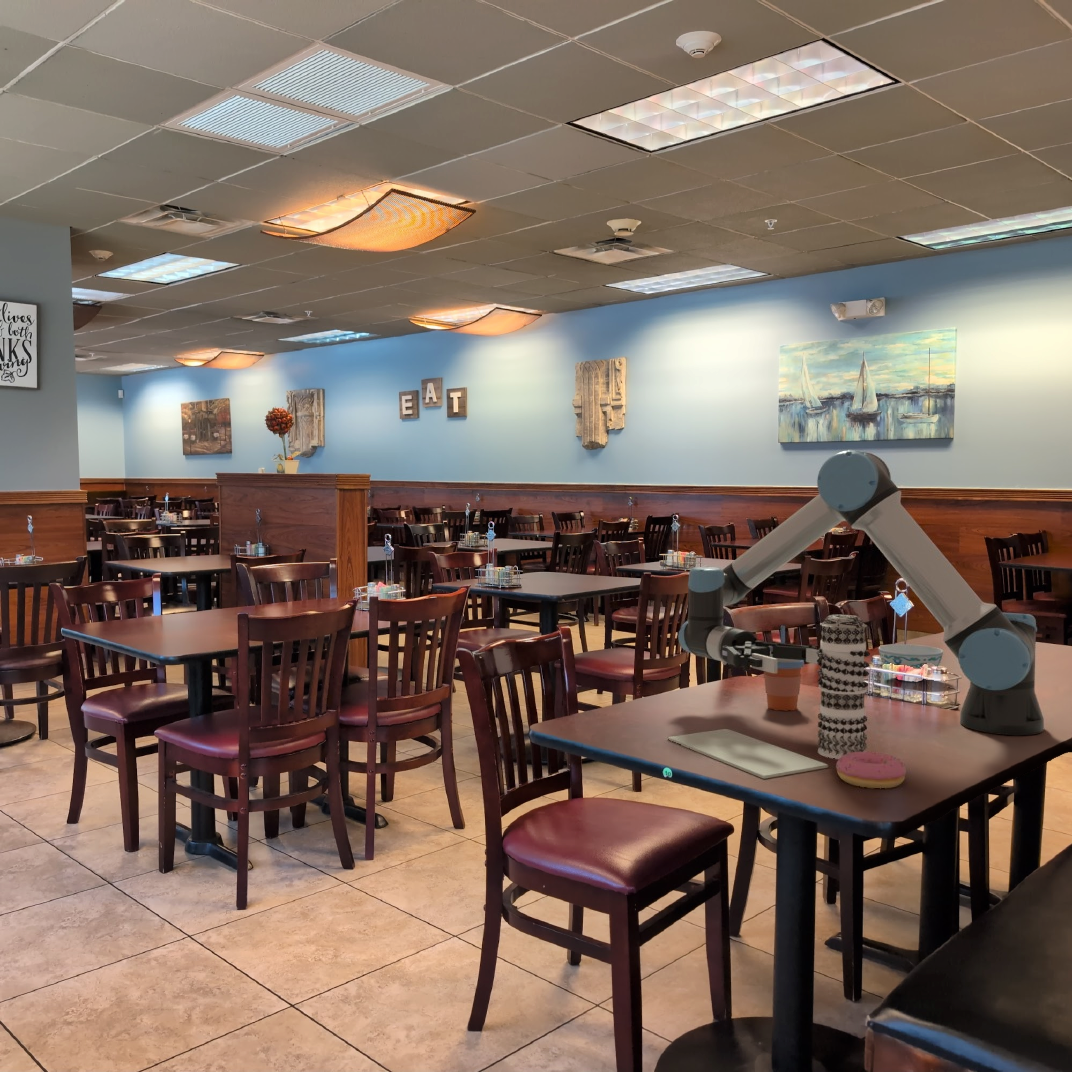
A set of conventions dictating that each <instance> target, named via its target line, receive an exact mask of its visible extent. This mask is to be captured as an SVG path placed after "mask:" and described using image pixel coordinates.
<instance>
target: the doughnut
mask: <svg viewBox="0 0 1072 1072" xmlns="http://www.w3.org/2000/svg"><path fill="white" fill-rule="evenodd" d="M835 762H836V763H835V765H836V766H835V768H836V772H837V774H838V775H837V776H839V777H840V779H841V780H843V782H845V783H848V784H849V785H852V786H854V787H855V786H856V787H859V786H860V788H864V787H867V788H866V789H874V788H880V789H881V788H885V789H892V788H896V787H898V786H900V785H901V784H902V783H903V782H904V781H905V778H906V774H907V771H906V768H905V767H906V765H905V764H904V763H903V762H902V761H901V759H900V758H897V757H894V756H893V755H889V754H886V753H881V752H876V751H874V750H873V751H865V752H857V751H856V752H852V753H848V754H845V755H843V756H842V757H841V758H840V759H837V761H835Z"/></svg>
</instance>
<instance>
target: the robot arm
mask: <svg viewBox="0 0 1072 1072" xmlns="http://www.w3.org/2000/svg"><path fill="white" fill-rule="evenodd" d="M816 481H817V482H816V483H817V484H816V486H817V490H818V493H819V494H817V495H816V496H815V497H814V498H812V499H811V500H810V501H809V502H807V503H806V504H805V505H803V507H801V508H799V509H798V510H797V511H795V512H794V513H793V514H792V515H790V516H789V517H788V518H787V519H786V520H784V521H783V522H782V523H781V524H779V525H778V526H776V527H775V528H774V529H773V530H772V531H770V532H769V533H768V534H767V535H765V536H764V537H763V538H761V539H760V540H758V541H757V542H756V543H755V544H754V545H753V546H751V547H750V548H748V549H747V550H746V551H745V552H743V553H742V554H741V555H740V556H738V557H737V558H736V559H735V560H733V561H732V562H731V563H729V564H728V565H727V566H726V567H724V568H723V569H722V568H720V567H712V566H711V567H710V566H700V567H698V566H697V567H692V568H691V569H690V570H689V573H688V582H687V587H688V589H687V590H688V592H687V593H688V602H687V603H688V616H687V617H688V618H687V620H686V621H685V622H684V623H683V624H682V625H681V626H680V630H679V631H678V636H677V637H678V642H679V645H680V647H681V648H682V649H683V650H684V651H685V652H688V653H691V654H693V656H694V655H695V656H697V657H701V658H707V659H711V660H715V661H718V662H719V661H720V662H721V663H722V665H724V666H726V665H727V664H730V665H732V667H734V668H737V669H738V668H743V671H745V672H746V671H747V672H750V671H751V668H752V669H755V670H759V671H763V672H765V671H766V672H770V673H777V658H780V659H794V660H804V661H805V662H806V663H808V664H812V665H813V664H814V665H818V664H817V659H819V657H818V655H817V651H818V649H817V646H815V645H813V644H812V643H809V644H808V645H805V644H804V645H803V644H795V643H794V644H793V643H792V644H791V643H786V642H785V643H781V642H777V641H775V640H774V641H771V642H765V641H764V640H758V639H757V637H756V636H755V634H754V633H752V632H751V631H749V630H745V629H741V628H736V627H731V626H726V625H724V607H726V606H731V605H735V604H738V603H739V602H740V601H742V600H743V599H744V598H745V597H746V595H747V594H748V593H749V592H750V591H753V589H754V588H756V587H757V586H758V585H759V584H761V583H763V581H765V580H766V579H767V578H769V577H770V576H771V575H773V574H774V573H775V572H777V571H778V570H779V569H781V568H782V567H784V565H786V564H787V563H788V562H790V561H791V560H793V559H794V558H795V557H797V556H798V555H799V554H801V553H802V552H804V551H805V550H806V549H807V548H808V547H810V546H811V545H813V544H814V543H815V542H816V541H818V540H819V539H820V538H823V536H824V535H826V534H827V533H828V532H829V531H831V530H832V529H834V528H836V527H837V526H838V525H839V524H841V523H842V522H844V521H845V522H846V523H847V524H848V525H849V527H850V528H851V529H853V530H861V531H864V532H865V534H866V535H867V536H868V537H869V538H870V540H871V541H872V542H873V544H874V545H875V546H876V547H877V548H878V550H880V552H881V553H882V555H883V556H884V557H885V558H886V560H887V561H888V562H889V563H890V564H891V565H892V567H893V568H894V569H895V570H896V572H897V573H898V574H899V575H900V577H901V578H902V579H903V580H904V582H905V583H906V584H907V585H908V586H909V588H910V589H911V590H912V592H914V594H915V595H916V596H917V597H918V598H919V600H920V601H921V602H922V604H923V605H924V606H925V607H926V608H927V610H928V611H929V612H930V613H931V614H932V616H933V617H934V618H935V620H937V622H938V623H939V624H940V626H941V627H942V628H943V635H942V636H943V637H942V641H943V642H944V643H945V645H946V646H947V647H948V649H949V650H950V651H951V653H953V655H954V656H955V657H956V658H957V659H958V664H959V667H960V670H961V672H962V673H963V674H964V676H965V677H966V678H967V679H968V680H969V688H968V691H967V693H966V696H965V699H964V702H963V703H962V704H963V705H962V707H961V709H960V714H959V715H960V718H959V720H960V721H959V722H960V725H962V726H963V727H965V728H968V729H971V730H974V731H978V732H983V733H988V734H995V735H996V734H997V735H1005V736H1030V735H1031V736H1032V735H1037V734H1041V733H1042V732H1044V730H1045V726H1044V725H1045V721H1044V720H1045V719H1044V718H1045V717H1044V716H1043V712H1042V709H1041V706H1040V703H1039V701H1038V696H1037V694H1036V691H1035V690H1036V689H1035V685H1036V684H1035V683H1036V682H1035V681H1036V679H1035V677H1036V676H1035V675H1036V638H1037V636H1036V633H1037V632H1038V626H1037V624H1036V623H1037V621H1036V618H1035V616H1033V615H1032V614H1030V613H1018V612H1017V613H1016V612H1015V613H1013V612H1002V610H1001V609H1000V608H999V607H998V606H997V605H996V604H995V603H988V602H984V601H983V600H982V599H981V598H980V597H979V596H978V594H976V592H975V591H974V590H973V589H972V588H971V586H970V585H969V583H968V582H967V581H966V580H965V579H964V578H963V577H962V576H961V574H960V573H959V572H958V571H957V570H956V568H955V567H954V566H953V564H952V563H951V562H950V561H949V560H948V559H947V558H946V556H945V555H944V554H943V553H942V552H941V550H940V549H939V548H938V546H937V545H936V544H935V543H934V542H933V541H932V540H931V538H930V537H929V536H928V535H927V533H925V531H924V530H923V529H922V528H921V526H920V525H919V524H918V522H917V521H916V520H915V519H914V518H913V517H912V515H911V514H910V513H909V512H908V511H907V510H906V509H905V507H904V506H903V505H902V503H901V499H902V491H901V490H900V489H899V488H898V486H897V485H896V484H895V482H894V481H893V480H892V478H891V471H890V469H889V467H888V465H887V464H886V462H885V461H884V460H883V459H881V458H880V457H879V456H877V455H875V454H873V453H870V452H866V451H865V452H864V451H860V450H854V449H848V450H842V451H840V452H837V453H836V454H833V455H832V456H830V457H828V458H827V459H826V460H825V461H824V462H823V464H822V465H821V467H820V468H819V471H818V474H817V479H816ZM770 651H771V654H773V657H769V656H770ZM818 666H819V665H818Z"/></svg>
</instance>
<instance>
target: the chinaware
mask: <svg viewBox="0 0 1072 1072" xmlns="http://www.w3.org/2000/svg"><path fill="white" fill-rule="evenodd" d="M878 653H879V657H880V659H881V662H882V663H883V665H884V664H890V663H892V664H894V665H904V664H905V665H907V666H910V667H913V668H920V667H922V666H923V665H924V664H927V663H932V664H934V665H935V666H937V668H938V667H939V666H940V664H941V660H942V658H943V655H944V650H943V649H941V648H938V647H935V646H931V645H930V646H929V645H922V644H921V645H920V644H911V643H910V644H908V643H907V644H906V643H905V644H904V643H900V644H899V643H895V644H894V643H893V644H891V643H890V644H884V645H880V646H879V647H878Z"/></svg>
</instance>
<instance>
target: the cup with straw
mask: <svg viewBox="0 0 1072 1072" xmlns="http://www.w3.org/2000/svg"><path fill="white" fill-rule="evenodd" d="M780 643H785V644H786V626H785V625H781V626H780ZM769 657H773V654H771V651H770V656H769ZM804 666H805V660H794V659H780V658H777V673H770V672H766V671H764V672H763V677H764V678H763V679H764V688H765V689H764V690H765V694H766V701H767V708H768V709H770V710H773V709H774V710H773V711H779V710H784V711H783V712H786V711H787V712H789V711H788V710H791V711H795V710H797V707H798V701H799V700H798V699H799V695H800V691H801V689H800V688H801V679H802V674H801V671H802V668H803V667H804Z"/></svg>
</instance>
